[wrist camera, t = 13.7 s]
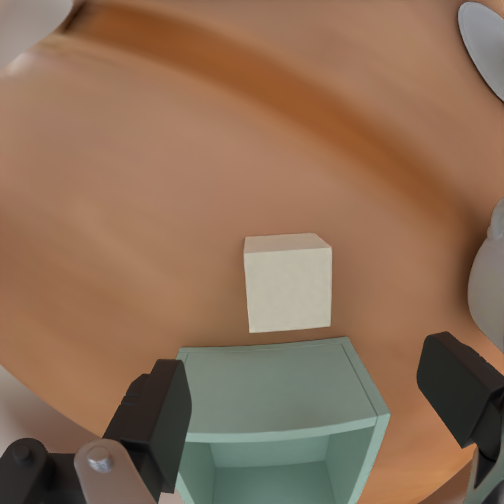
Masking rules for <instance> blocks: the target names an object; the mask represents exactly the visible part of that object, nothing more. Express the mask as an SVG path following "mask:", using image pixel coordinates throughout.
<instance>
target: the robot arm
mask: <svg viewBox="0 0 504 504" xmlns="http://www.w3.org/2000/svg"><path fill="white" fill-rule="evenodd" d="M417 384H418V387H419V389H420V390H421V392H422V393H423V394H424V396H425V397H426V398H427V400H428V401H429V403H430V404H431V405H432V407H433V408H434V409H435V411H436V412H437V414H438V415H439V416H440V418H441V419H442V421H443V422H444V423H445V425H446V426H447V428H448V429H449V430H450V432H451V433H452V435H453V436H454V438H455V439H456V441H457V442H458V443H459V445H460V446H461V448H462V449H463V448H465V447H467V446H469V445H471V444H473V443H476V444H477V447H476V448H475V450H474V453H473V459H472V466H471V472H470V477H469V483H468V488H467V492H466V496H465V499H464V501H463V503H462V504H504V376H503V375H502V374H501V373H500V372H498V371H497V370H496V369H495V368H494V367H493V366H492V365H491V364H490V363H488V362H487V363H486V360H485V359H484V358H483V357H482V356H479V354H478V353H477V352H476V351H475V350H473V349H472V348H471V347H469V346H467V345H465V344H463V343H461V342H459V341H458V340H457V339H456V338H455V337H454V336H452V335H451V334H450V333H449V332H447V331H445V332H441V333H436V334H432V335H428V336H427V337H426V339H425V341H424V345H423V349H422V354H421V358H420V362H419V366H418V370H417ZM191 414H192V399H191V394H190V389H189V385H188V381H187V376H186V371H185V367H184V363H183V361H182V360H174V359H158V360H157V361H156V363H155V365H154V367H153V369H152V371H151V373H150V374H142V375H141V376H139V377H138V378H137V379H136V380H134V381H133V382H132V383H131V385H130V387H129V388H128V390H127V392H126V396H124V398H123V399H122V401H121V405H119V407H118V409H117V411H116V413H115V414H114V416H113V418H112V420H111V422H110V424H109V426H108V428H107V430H106V431H105V433H104V435H103V437H102V439H95V440H91V441H89V442H87V443H85V444H83V445H82V446H81V447H80V448H79V449H78V450H77V452H76V453H74V454H60V453H58V454H57V453H48V451H47V450H46V448H45V447H44V445H43V444H42V443H41V442H40V441H38V440H36V439H33V438H23V439H19V440H17V441H15V442H13V443H12V444H11V445H9V446H8V448H7V449H6V451H5V452H4V454H3V455H2V457H1V458H0V504H158V501H159V497H160V494H161V492H165V493H174V489H175V485H176V480H177V475H178V471H179V466H180V462H181V458H182V453H183V449H184V444H185V440H186V436H187V431H188V427H189V423H190V419H191Z"/></svg>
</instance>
